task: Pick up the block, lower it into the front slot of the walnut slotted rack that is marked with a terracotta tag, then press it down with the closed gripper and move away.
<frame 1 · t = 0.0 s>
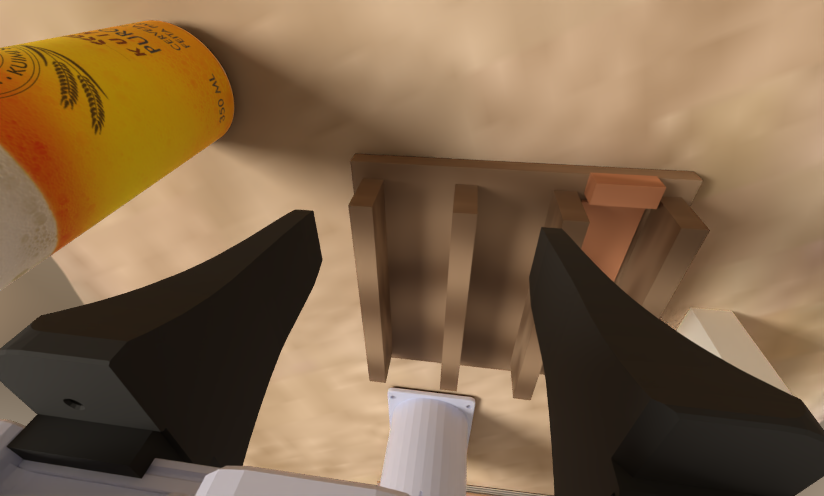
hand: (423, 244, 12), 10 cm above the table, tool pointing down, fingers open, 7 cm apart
beer can: (189, 82, 21), on the table
block: (672, 363, 29), on the table
rack: (496, 279, 26), on the table
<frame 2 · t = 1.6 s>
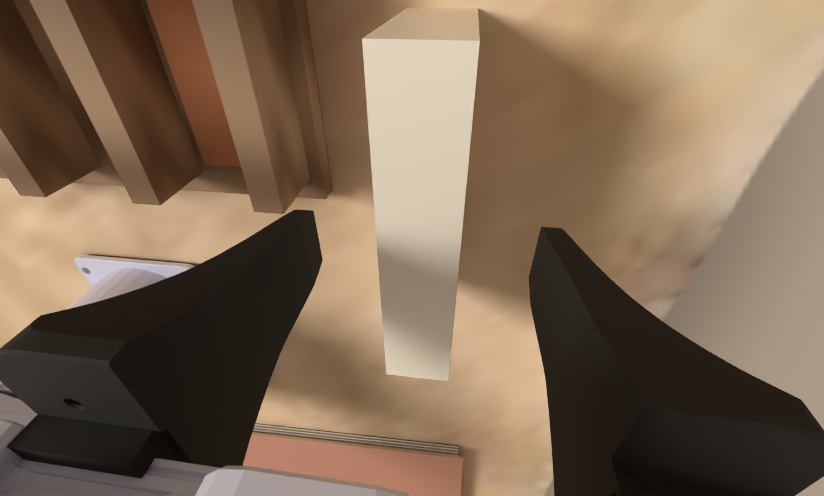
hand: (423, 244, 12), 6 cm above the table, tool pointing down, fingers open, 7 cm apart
block: (436, 164, 17), on the table
notebook: (327, 463, 39), on the table
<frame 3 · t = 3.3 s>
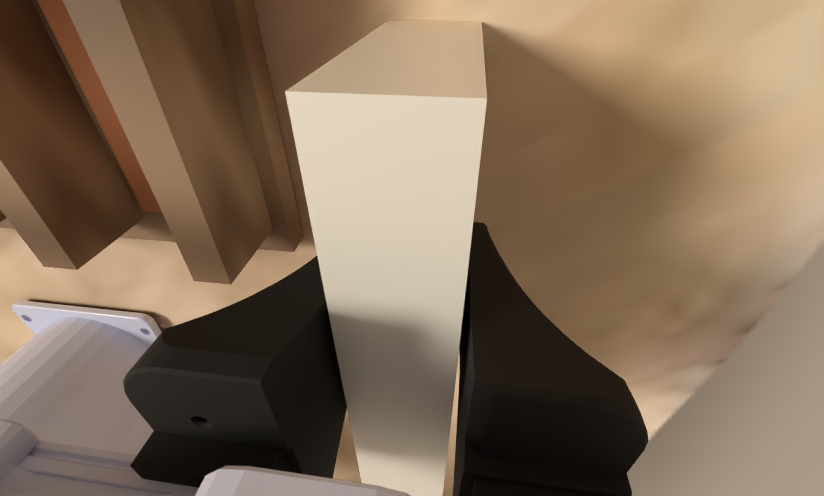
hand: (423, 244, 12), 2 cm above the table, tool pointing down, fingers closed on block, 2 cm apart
block: (429, 212, 14), on the table, touching gripper
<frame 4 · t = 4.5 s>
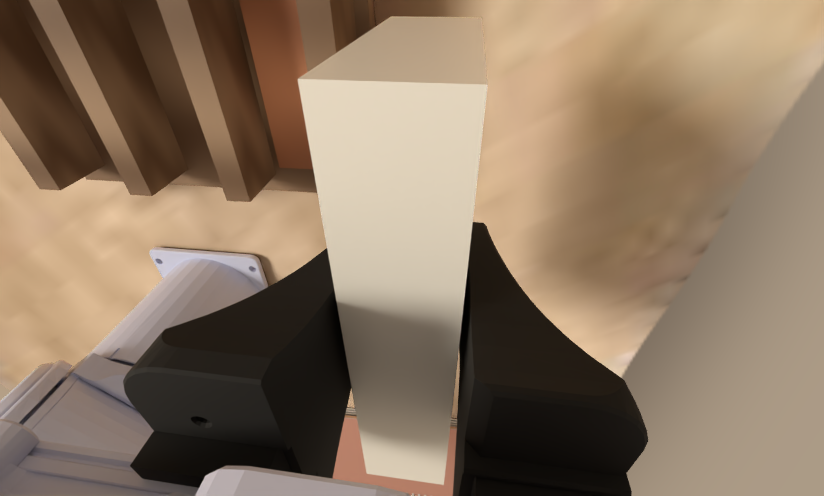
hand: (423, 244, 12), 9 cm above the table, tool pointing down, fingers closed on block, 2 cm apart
block: (430, 205, 14), point 7 cm above the table, touching gripper
rack: (181, 10, 17), on the table
notebook: (357, 441, 42), on the table
when the fingers open (5 cm above the table, at t = 6.1 s): block stays where it is, resting on rack.
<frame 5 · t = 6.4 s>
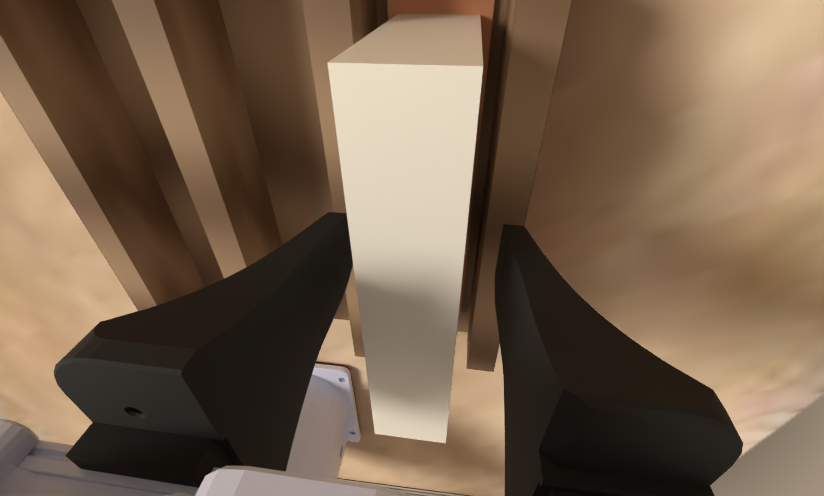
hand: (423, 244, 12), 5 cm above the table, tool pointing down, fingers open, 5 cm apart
block: (433, 189, 15), point 1 cm above the table, touching rack
rack: (317, 169, 17), on the table
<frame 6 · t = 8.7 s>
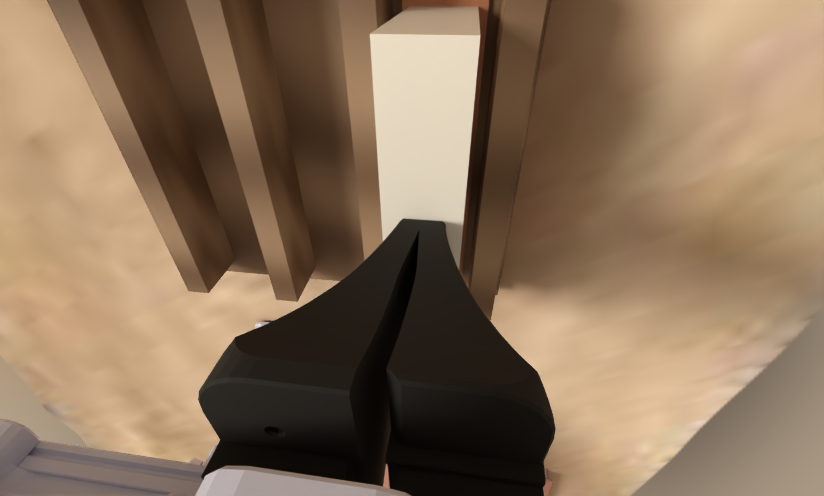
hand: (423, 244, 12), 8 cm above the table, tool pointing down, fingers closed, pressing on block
block: (438, 158, 18), point 1 cm above the table, touching gripper, rack
rack: (337, 143, 19), on the table
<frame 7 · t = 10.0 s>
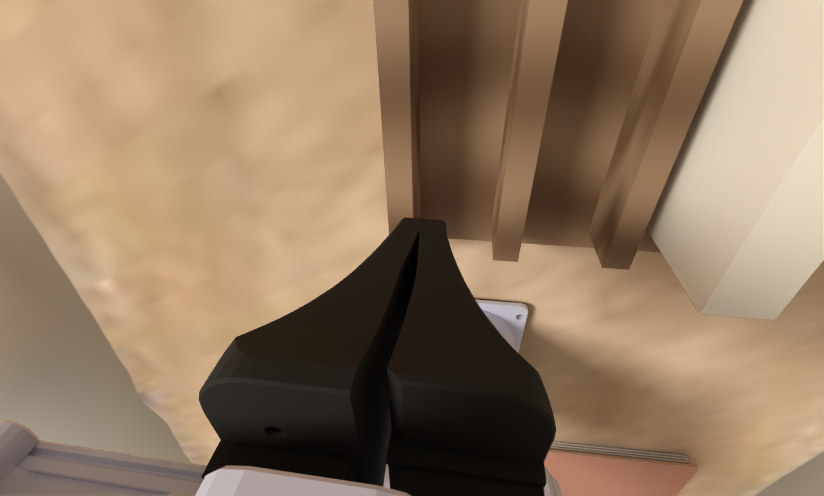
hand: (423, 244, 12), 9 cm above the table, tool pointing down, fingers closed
block: (717, 90, 16), point 1 cm above the table, touching rack
rack: (580, 81, 17), on the table
notebook: (524, 469, 42), on the table
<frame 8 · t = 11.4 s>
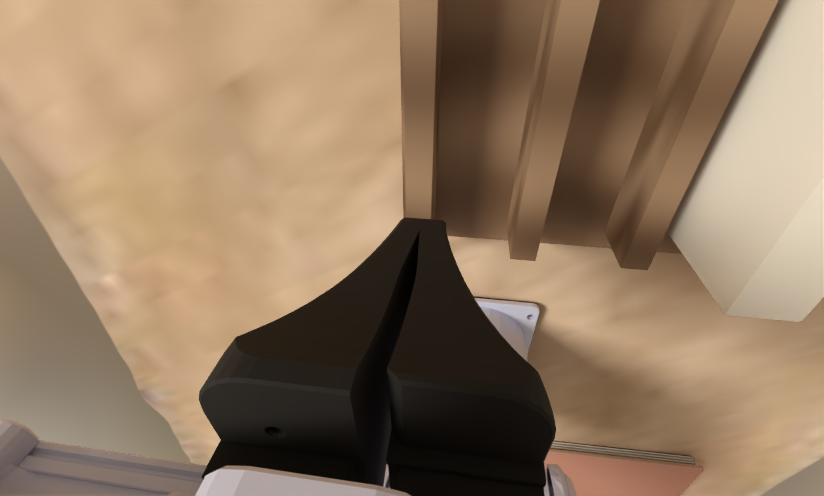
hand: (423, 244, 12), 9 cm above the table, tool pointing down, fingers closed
block: (742, 90, 16), point 1 cm above the table, touching rack
rack: (602, 79, 17), on the table
notebook: (527, 469, 41), on the table
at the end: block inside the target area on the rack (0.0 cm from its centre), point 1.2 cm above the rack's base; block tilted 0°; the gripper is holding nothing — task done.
